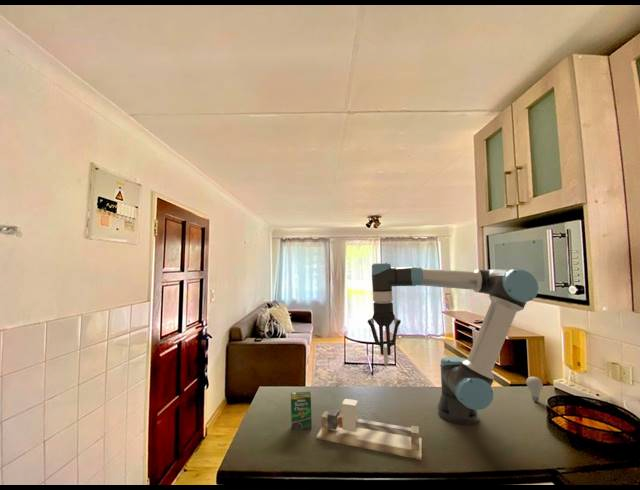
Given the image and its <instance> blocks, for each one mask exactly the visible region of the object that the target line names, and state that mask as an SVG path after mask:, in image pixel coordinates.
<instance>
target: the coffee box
mask: <svg viewBox="0 0 640 490" xmlns="http://www.w3.org/2000/svg"><path fill="white" fill-rule="evenodd" d="M290 412H291V413H290V415H291V416H290V417H291V419H290V420H291V422H290V423H291V425H290V426H291V430H292V431H294V430H295V431H297V430H298V431H299V430H311V429H312V426H313V425H312V419H313V418H312V394H311V391H299V392H295V391H293V392H291V393H290Z"/></svg>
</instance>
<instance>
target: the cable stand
mask: <svg viewBox="0 0 640 490" xmlns="http://www.w3.org/2000/svg"><path fill="white" fill-rule="evenodd" d="M410 426H411V427H408V426H403V425H396V424H390V423H385V422H379V421H373V420H367V419H361V418H358V419H357V420H356V427H358V428H357V430H356V432H353V431H348V430H343V429H342V412H340V409H336V408H331V409H329V410H328V411H326V410H325V411H324V412H323V414H322V415H321V428H320V429H319V431H318V433H317V435H316V439H318V440H324V441H327V442H333V443H338V444H343V445H347V446H352V447H357V448H362V449H368V450H372V451H377V452H381V453H382V452H383V453H386V454H392V455H397V456H401V457H406V458H411V459H415V458H416V460H420V461H421V460H422V458H423V457H422V455H423V454H422V453H423V451H422V449H423V447H422V446H423V444H422V443H423V442H422V441H423V438H422V437H420V427H419V426H416V425H410Z"/></svg>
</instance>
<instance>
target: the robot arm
mask: <svg viewBox="0 0 640 490" xmlns="http://www.w3.org/2000/svg"><path fill="white" fill-rule="evenodd" d="M371 283H372V301H373V304H372V305H373V315H372V317H371V318H368V320H367V324H368V325H369V326H370V327H369V328H370V330H371V333H372V337H373V339H374V345H376V346H379V348H380V355H381V356H383V365H385V366H386V365H389V356H391V355H392V351H391V350H392V349H391V347H393V346H395V345H396V340H397V335H398V334H397V333H398V329H399V326H400V324H401V321H402V320H401V319H398V318H397V317H396V315H395V313H394V303H393V299H394V298H393V287H417V286H420V287H421V286H423V287H436V288H448V289H459V290H460V289H462V290H471V291H472V290H473V292H475V293H481V294H486V295H488V297H489V299H490V304H489V306H488V309H487V310H486V311H487V312H486V313H485V316H484V318H483V321H482V322H481V326H480V327H479V330H478V333H477V335H476V338H475V340H474V341H473V345H472V347H471V349H470V352H469V354H468V355H467V358H463V357H456V356H455V357H454V356H449V357H448V356H446V357H445V356H444V357H442V358H441V359H440V366H439V367H440V381H441V382H440V383H441V393H440V397H439V401H438V404H437V412H438V413H437V414H438V415H439V416H440V417H441V418H443V419H444V420H446V421H448V422H451V423H454V424H458V425H467V426H468V425H473V424H476V423H477V422H478V421H479V413H478V411H481V410H485V409H487V408H488V407H489V406H490V405H491V404H492V403H493V400H494V391H493V388H492V385H493V383H494V381H495V377H494V374H493V369H494V367H495V364H496V362H497V360H498V357H499V355H500V352H501V350H502V348H503V345H504V344H505V340H506V338H507V336H508V333H509V331H510V328H511V327H512V324H513V322H514V319H515V316H516V314H517V313H518V312H520V311H523V310H524V309H525V306H526V305H527V302H530V301H532V300H533V299H535V298H536V297H537V295H538V293H539V284H538V281H537V278H536V277H535V276H534V275H533V274H532V273H531V272H529V271H527V270H525V269H521V268H520V269H519V268H517V267H516V268H496V269H494V268H493V269H475V270H474V271H468V270H467V271H465V270H464V271H463V270H454V269H453V270H451V269H436V268H423V267H421V266H414V265H413V266H398V267H394V266H392V265H391V263H390V262H377V263H373V264H372V265H371ZM375 323H376V324H377V326H378V331H379V335H378V334H377V333H378V332H377V330H376V327H375ZM392 323H394V330H393V334H392V340H391V332H390V326H391V325H392ZM384 327H385V337H386V344H385V342H384ZM378 336H379V337H378Z"/></svg>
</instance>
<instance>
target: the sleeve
mask: <svg viewBox="0 0 640 490" xmlns="http://www.w3.org/2000/svg"><path fill="white" fill-rule="evenodd" d="M341 413H342V429H343V430H348V431H353V432H356V430H357V428H358V427H356V420H357V419H359V400H356V399H350V398H344V399H343V401H342V403H341Z"/></svg>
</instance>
